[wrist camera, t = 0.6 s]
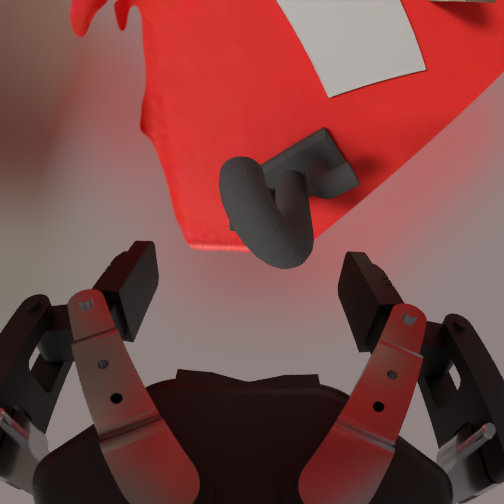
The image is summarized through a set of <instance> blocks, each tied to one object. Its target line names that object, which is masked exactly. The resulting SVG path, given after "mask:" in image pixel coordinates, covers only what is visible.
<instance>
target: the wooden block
mask: <svg viewBox="0 0 504 504" xmlns="http://www.w3.org/2000/svg"><path fill="white" fill-rule="evenodd" d="M429 1H465V2H488V3H496V1H495V0H429Z"/></svg>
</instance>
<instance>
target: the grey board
mask: <svg viewBox="0 0 504 504" xmlns="http://www.w3.org/2000/svg"><path fill="white" fill-rule="evenodd" d="M276 1H277V3H278V4H279V6H280V7H281V9H282V11H283V12H284V14H285V15H286V17H287V19H288V20H289V22H290V24H291V25H292V27H293V29H294V31H295V32H296V34H297V36H298V38H299V40H300V41H301V43H302V45H303V47H304V49H305V51H306V53H307V54H308V56H309V58H310V60H311V62H312V64H313V66H314V68H315V70H316V72H317V74H318V76H319V78H320V81H321V83H322V85H323V87H324V89H325V91H326V93H327V96H328V97H332V96H335V95H338V94H341V93H344V92H347V91H350V90H353V89H356V88H359V87H362V86H366V85H369V84H372V83H376V82H379V81H383V80H386V79H390V78H394V77H397V76H401V75H405V74H409V73H414V72H418V71H422V70H426V68H425V64H424V61H423V58H422V55H421V52H420V49H419V46H418V43H417V41H416V38H415V35H414V32H413V30H412V27H411V25H410V22H409V20H408V18H407V15H406V13H405V11H404V8H403V6H402V4H401V2H400V0H276Z"/></svg>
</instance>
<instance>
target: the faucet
mask: <svg viewBox="0 0 504 504" xmlns="http://www.w3.org/2000/svg"><path fill="white" fill-rule="evenodd" d="M359 185H360V182H359V180H358V178H357V176H356V174H355V172H354V170H353V169H352V167H351V165H350V164H349V162H348V161H347V162H346V161H345V159H344V158H343V156H342V154H341V153H340V151H339V149H338V148H337V146H336V145H335V143H334V142H333V140H332V139H331V137H330V135H329V134H328V132H327V131H326V129H325V128H324V127H323V128H321V129H320V130H318V131H316V132H314V133H313V134H311V135H309V136H308V137H306V138H304V139H302V140H301V141H299V142H297V143H296V144H294V145H292V146H291V147H289V148H287V149H286V150H284V151H282V152H281V153H279V154H278V155H276V156H274V157H273V158H271V159H269V160H268V161H266V162H265V163H263V164H262V165H259V164H258V163H257V162H256V161H255V160H253V159H251V158H248V157H241V156H239V157H234V158H231V159H229V160H227V161H226V162H225V163H224V164H223V166H222V168H221V170H220V178H219V189H220V194H221V200H222V203H223V206H224V209H225V211H226V214H227V216H228V218H229V220H230V231H236V233H237V234H238V236H239V237H240V238H241V240H242V241H243V243H244V244H245V245H246V246H247V247H248V248H249V249H250V250H251V251H252V252H253V253H254V255H256V256H257V257H258V258H260V259H261V260H262V261H264V262H265V263H267V264H268V265H271V266H274V267H277V268H280V269H289V268H294V267H297V266H299V265H301V264H303V262H305V260H306V259H307V258H308V256H309V255H310V254H311V252H312V248H313V242H314V235H313V227H312V220H311V213H310V207H309V200H308V198H309V197H311V196H312V195H315V196H317V197H319V198H323V199H330V198H334V197H337V196H339V195H341V194H343V193H345V192H347V191H349V190H351V189H353V188H355V187H357V186H359Z"/></svg>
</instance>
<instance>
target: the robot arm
mask: <svg viewBox="0 0 504 504" xmlns="http://www.w3.org/2000/svg"><path fill="white" fill-rule="evenodd" d="M158 280H159V275H158V266H157V259H156V251H155V245H154V242H152V241H135V242H134V244H133V245H132V246H131V247H130V249H129V250H128V251H127V252H126V251H124V252H123V253H121V254H119V255H118V256H116V257H115V258H114V260H113V261H112V262H111V263H110V266H108V267H107V269H106V270H105V272H104V273H103V274H102V276H101V277H100V278H99V280H98V281H97V282H96V284H95V285H94V286H93V288H92V289H86V290H82V291H80V292H78V293H76V294H74V295H73V296H72V297H71V298H70V300H69V301H68V304H66V305H57V306H52V305H51V303H50V301H49V298H48V297H47V296H46V295H42V294H37V295H33V296H31V297H29V298H27V299H26V300H24V301H23V302H22V304H21V305H20V306H19V308H18V309H17V310H16V312H15V313H14V315H13V316H12V317H11V319H10V320H9V321H8V323H7V324H6V326H5V327H4V329H3V330H2V332H1V333H0V480H1V481H4V482H6V483H7V484H9V485H11V486H13V487H15V488H17V489H22V490H24V491H26V492H28V493H30V494H32V495H33V497H34V501H35V504H456V503H460V504H461V503H466V502H468V501H470V500H472V499H474V498H476V497H478V496H480V495H481V494H484V493H486V492H487V491H489V490H491V489H493V488H495V487H496V486H498V485H500V484H501V483H503V482H504V380H503V378H502V376H501V374H500V372H499V371H498V368H497V367H496V365H495V363H494V361H493V360H492V358H491V356H490V354H489V353H488V351H487V349H486V347H485V346H484V344H483V342H482V341H481V339H480V337H479V336H478V334H477V333H476V331H475V329H474V328H473V326H472V325H471V323H470V322H469V321H468V320H467V319H465V318H464V317H462V316H460V315H458V314H448V315H447V316H446V317H445V319H444V321H443V323H442V324H440V323H435V322H429V321H427V319H426V316H425V315H424V313H423V312H422V311H421V310H419V309H418V308H417V307H415V306H413V305H410V304H405V303H404V302H403V300H402V299H401V297H400V295H399V294H398V292H397V291H396V289H395V288H394V286H392V283H391V281H390V280H388V277H387V275H386V274H385V272H384V271H383V270H382V269H381V268H379V267H378V266H377V265H375V264H372V262H371V261H370V259H369V258H368V256H367V255H366V254H365V253H364V252H347V253H346V255H345V258H344V263H343V267H342V271H341V275H340V279H339V282H338V296H339V299H340V301H341V304H342V307H343V309H344V312H345V314H346V317H347V320H348V322H349V325H350V328H351V331H352V333H353V336H354V339H355V342H356V344H357V348H358V350H359V352H370V353H371V357H370V358H369V360H368V362H367V364H366V366H365V368H364V370H363V372H362V374H361V376H360V378H359V380H358V381H357V384H356V385H355V387H354V389H353V390H352V392H351V394H350V396H349V395H347V394H346V393H344V392H342V391H340V390H338V389H335V388H333V387H329V386H326V385H321V384H320V382H319V378H318V374H312V375H282V376H278V377H272V378H267V379H262V380H257V381H251V382H246V381H242V380H238V379H234V378H230V377H227V376H223V375H219V374H216V373H213V372H202V371H191V370H182V369H178V370H177V374H176V379H170V380H165V381H161V382H158V383H155V384H152V385H150V386H148V387H146V388H145V386H144V385H143V383H142V381H141V379H140V377H139V375H138V373H137V371H136V369H135V367H134V365H133V363H132V361H131V358H130V356H129V354H128V352H127V350H126V347H125V345H124V343H123V341H130V342H134V340H135V337H136V335H137V332H138V330H139V327H140V325H141V323H142V321H143V318H144V316H145V313H146V311H147V309H148V307H149V304H150V302H151V300H152V298H153V295H154V293H155V291H156V289H157V286H158ZM36 346H37V348H38V349H39V351H40V354H39V356H38V358H37V360H36V361H35V363H34V365H33V367H32V369H31V371H30V369H29V359H30V357H31V355H32V353H33V351H34V350H35V347H36ZM73 361H75V364H76V368H77V372H78V376H79V379H80V383H81V386H82V389H83V393H84V396H85V399H86V402H87V405H88V408H89V411H90V414H91V417H92V420H93V422H94V424H93V425H91V426H90V427H88V428H87V429H85V430H84V431H82V432H81V433H79V434H78V435H76V436H75V437H74V438H72V439H70V440H69V441H67V442H66V443H64V444H63V445H61V446H60V447H58V448H57V449H55V450H54V451H52V452H49V450H48V441H47V438H46V436H45V433H46V430H47V427H48V424H49V421H50V418H51V415H52V413H53V410H54V407H55V404H56V402H57V399H58V396H59V394H60V391H61V389H62V386H63V384H64V381H65V379H66V376H67V374H68V372H69V370H70V367H71V365H72V363H73ZM453 364H454V365H455V367H456V368H457V371H458V373H459V375H460V379H461V382H460V387H459V389H458V390H457V389H456V387H455V384H454V382H453V380H452V377H451V375H450V373H449V370H450V369H451V367H452V366H453ZM417 382H418V384H419V387H420V390H421V392H422V395H423V398H424V401H425V404H426V407H427V410H428V413H429V416H430V419H431V423H432V426H433V429H434V433H435V436H436V440H437V443H438V447H439V451H438V454H437V462H436V463H435V462H433V461H432V460H431V459H429V458H428V457H427V456H425V455H424V454H423V453H421V452H420V451H419V450H417V449H416V448H415V447H413V446H412V445H411V444H410V443H408V442H407V441H406V440H404V439H403V438H402V437H401V436H399V435H398V434H399V432H400V429H401V427H402V424H403V421H404V419H405V416H406V413H407V411H408V408H409V405H410V402H411V399H412V396H413V392H414V389H415V386H416V383H417Z"/></svg>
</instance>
